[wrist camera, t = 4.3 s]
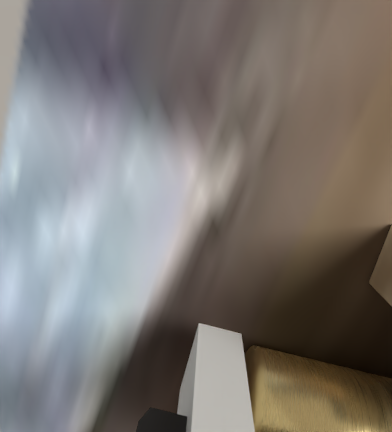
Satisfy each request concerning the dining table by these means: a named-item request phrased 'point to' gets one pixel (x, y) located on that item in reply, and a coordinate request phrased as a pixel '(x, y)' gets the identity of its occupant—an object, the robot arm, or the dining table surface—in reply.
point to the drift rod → (314, 395)
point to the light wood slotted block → (384, 271)
